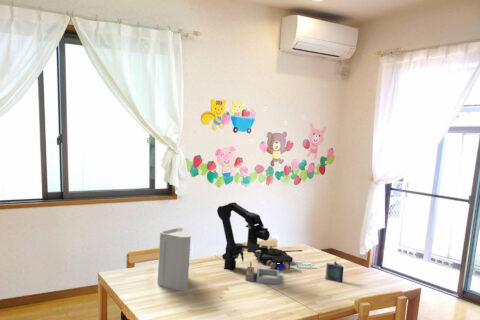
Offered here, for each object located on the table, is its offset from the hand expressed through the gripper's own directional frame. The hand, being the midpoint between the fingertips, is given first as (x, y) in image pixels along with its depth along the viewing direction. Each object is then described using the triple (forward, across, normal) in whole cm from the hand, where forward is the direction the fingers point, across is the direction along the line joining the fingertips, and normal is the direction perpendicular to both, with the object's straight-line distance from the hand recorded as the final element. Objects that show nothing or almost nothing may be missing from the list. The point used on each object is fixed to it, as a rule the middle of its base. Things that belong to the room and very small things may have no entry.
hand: (250, 262), depth 200 cm
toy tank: (+10, +19, +32) cm, 39 cm away
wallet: (+9, +50, +7) cm, 51 cm away
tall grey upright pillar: (+9, -42, -17) cm, 46 cm away
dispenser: (+9, 0, 0) cm, 9 cm away
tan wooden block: (+8, 0, 0) cm, 8 cm away
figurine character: (+9, +18, +17) cm, 26 cm away
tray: (+9, +11, 0) cm, 14 cm away
